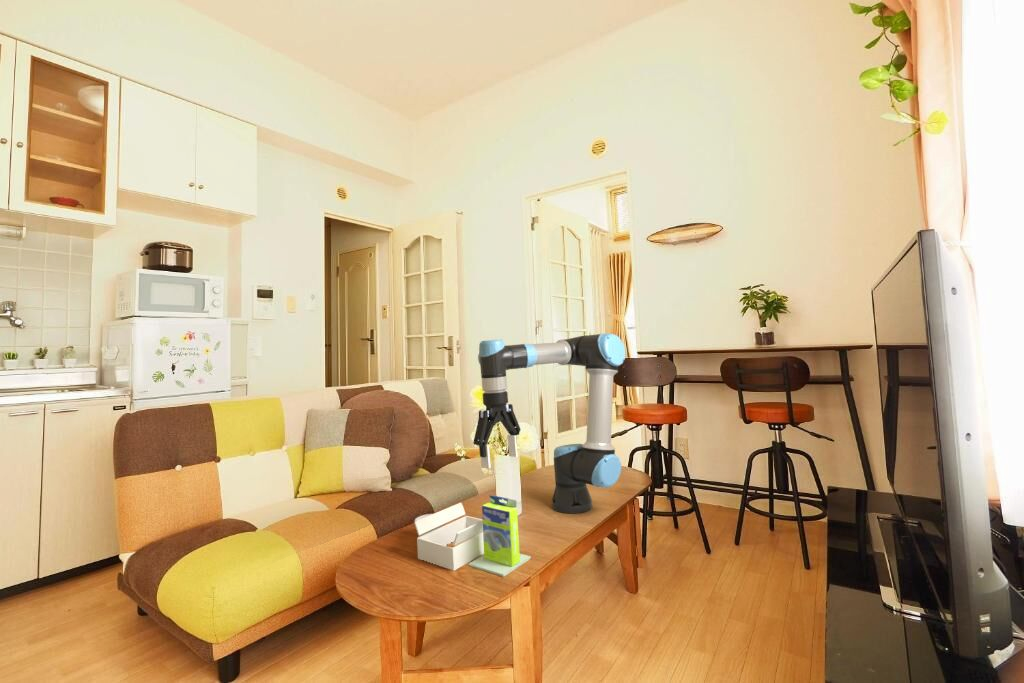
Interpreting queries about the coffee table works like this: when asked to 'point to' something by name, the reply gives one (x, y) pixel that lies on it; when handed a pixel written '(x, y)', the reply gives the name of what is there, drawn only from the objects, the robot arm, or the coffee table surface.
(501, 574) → the mat
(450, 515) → the flap far
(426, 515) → the candle
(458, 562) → the white open carton
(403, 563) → the coffee table surface
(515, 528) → the box
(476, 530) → the flap near
